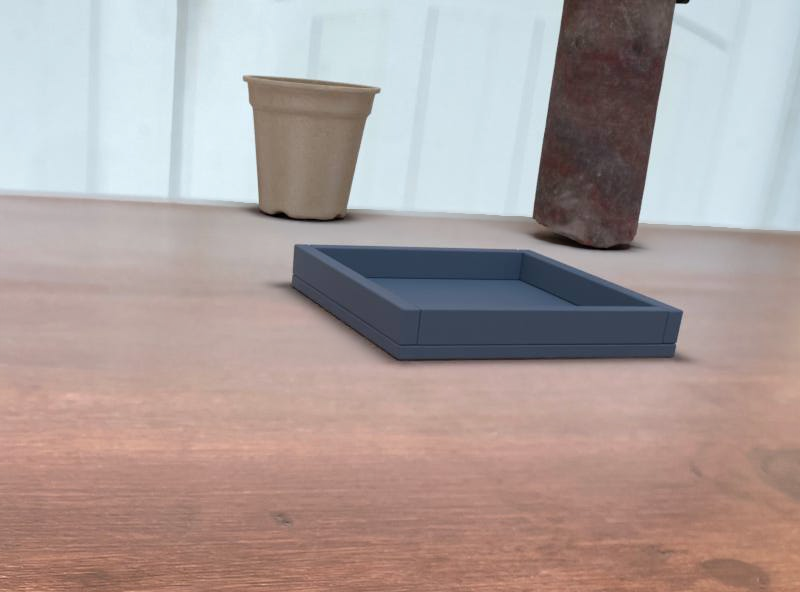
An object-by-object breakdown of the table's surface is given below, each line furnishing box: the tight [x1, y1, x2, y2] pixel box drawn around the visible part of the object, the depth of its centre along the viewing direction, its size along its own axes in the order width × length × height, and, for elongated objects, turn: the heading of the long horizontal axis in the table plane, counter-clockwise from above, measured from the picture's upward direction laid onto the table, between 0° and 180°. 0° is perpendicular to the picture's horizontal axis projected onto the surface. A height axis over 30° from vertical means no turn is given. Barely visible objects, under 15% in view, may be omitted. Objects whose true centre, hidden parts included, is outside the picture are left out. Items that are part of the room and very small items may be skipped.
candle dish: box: [291, 243, 684, 361], centre depth 57 cm, size 14×15×2 cm
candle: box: [532, 0, 677, 249], centre depth 79 cm, size 8×7×20 cm
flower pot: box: [242, 74, 382, 221], centre depth 83 cm, size 9×9×9 cm
